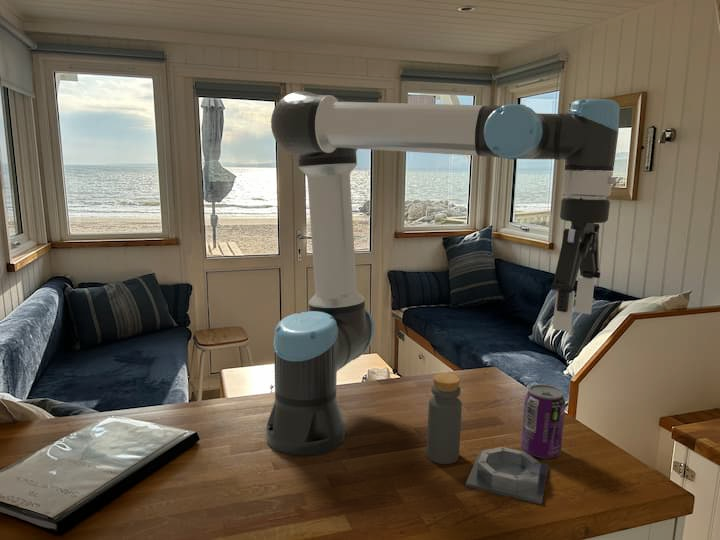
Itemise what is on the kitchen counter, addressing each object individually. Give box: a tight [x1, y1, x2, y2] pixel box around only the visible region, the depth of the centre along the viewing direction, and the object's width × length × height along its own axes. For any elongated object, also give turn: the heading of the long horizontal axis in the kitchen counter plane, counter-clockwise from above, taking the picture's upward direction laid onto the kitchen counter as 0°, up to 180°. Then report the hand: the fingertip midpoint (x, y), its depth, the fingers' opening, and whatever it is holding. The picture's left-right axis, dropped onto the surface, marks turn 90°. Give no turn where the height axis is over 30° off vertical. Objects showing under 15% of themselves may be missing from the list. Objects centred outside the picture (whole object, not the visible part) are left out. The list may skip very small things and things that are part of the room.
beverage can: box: [520, 383, 566, 459], centre depth 103 cm, size 7×7×12 cm
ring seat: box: [465, 446, 550, 505], centre depth 96 cm, size 12×12×3 cm
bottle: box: [426, 373, 463, 465], centre depth 101 cm, size 6×6×15 cm
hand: (572, 321), depth 97 cm, fingers open, 13 cm apart
